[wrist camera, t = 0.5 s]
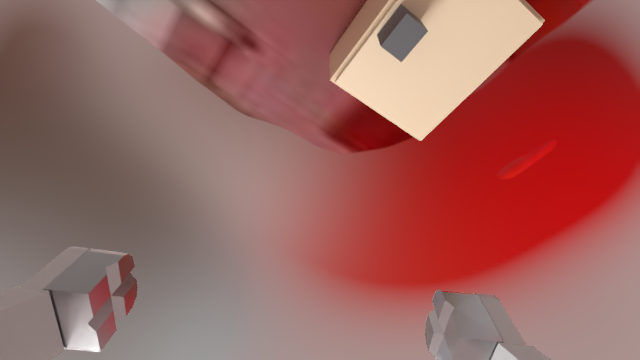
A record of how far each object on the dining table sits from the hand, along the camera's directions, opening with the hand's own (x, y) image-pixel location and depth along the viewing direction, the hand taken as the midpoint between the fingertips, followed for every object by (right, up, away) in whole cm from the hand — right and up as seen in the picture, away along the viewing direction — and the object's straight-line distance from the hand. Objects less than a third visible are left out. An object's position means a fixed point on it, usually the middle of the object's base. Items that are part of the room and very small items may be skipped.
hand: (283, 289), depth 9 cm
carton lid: (+14, +19, +33) cm, 41 cm away
